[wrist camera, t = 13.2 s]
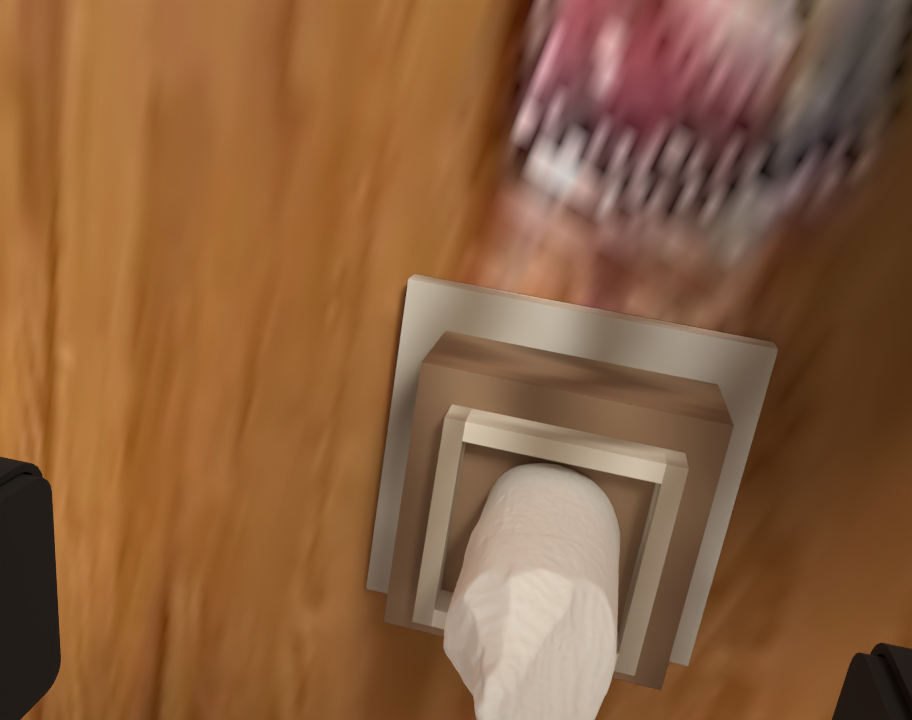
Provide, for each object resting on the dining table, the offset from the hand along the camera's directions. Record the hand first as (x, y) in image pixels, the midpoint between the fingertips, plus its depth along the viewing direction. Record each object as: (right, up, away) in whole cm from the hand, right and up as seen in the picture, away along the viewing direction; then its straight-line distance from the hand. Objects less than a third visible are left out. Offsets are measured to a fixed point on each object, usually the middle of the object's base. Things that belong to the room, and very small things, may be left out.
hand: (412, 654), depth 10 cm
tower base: (+5, -2, +30) cm, 30 cm away
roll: (+4, -3, +24) cm, 25 cm away
